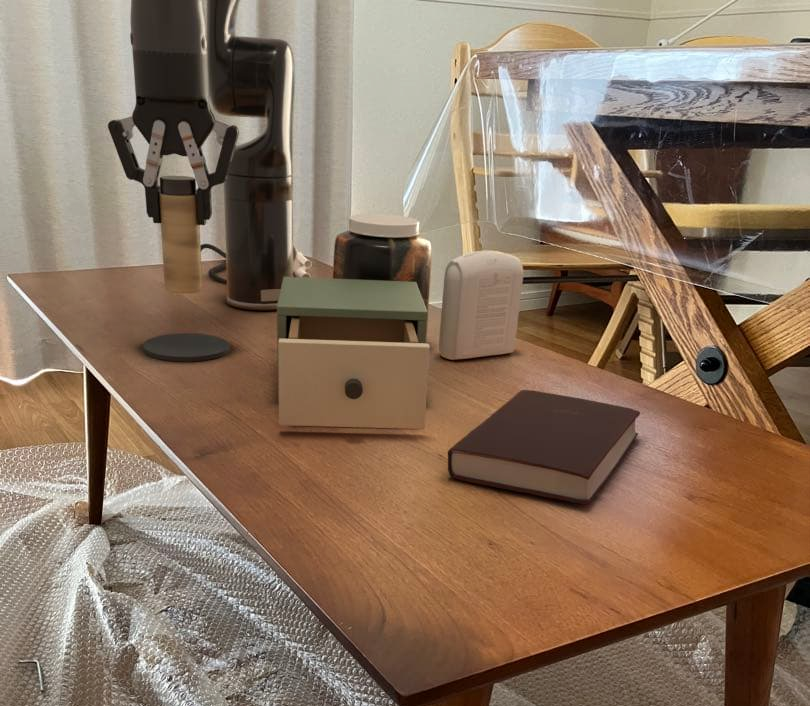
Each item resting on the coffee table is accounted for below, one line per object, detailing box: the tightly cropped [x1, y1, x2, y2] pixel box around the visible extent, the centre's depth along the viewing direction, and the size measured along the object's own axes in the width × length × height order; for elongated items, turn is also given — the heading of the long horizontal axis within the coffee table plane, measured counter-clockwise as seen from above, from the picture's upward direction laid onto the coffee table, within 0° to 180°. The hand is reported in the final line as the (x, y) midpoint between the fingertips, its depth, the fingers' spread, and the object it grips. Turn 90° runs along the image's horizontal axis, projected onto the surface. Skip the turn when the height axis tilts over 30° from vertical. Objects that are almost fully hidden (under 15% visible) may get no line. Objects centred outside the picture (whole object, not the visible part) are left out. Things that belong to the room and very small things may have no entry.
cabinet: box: [276, 276, 429, 403], centre depth 98 cm, size 14×15×10 cm
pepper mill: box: [159, 175, 203, 294], centre depth 102 cm, size 4×4×12 cm
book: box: [447, 389, 641, 505], centre depth 83 cm, size 12×19×3 cm, turn 155°
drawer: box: [278, 316, 431, 430], centre depth 89 cm, size 14×14×8 cm
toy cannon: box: [293, 244, 313, 278], centre depth 147 cm, size 8×14×5 cm
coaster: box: [142, 332, 231, 363], centre depth 108 cm, size 10×10×1 cm
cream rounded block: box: [438, 249, 524, 361], centre depth 110 cm, size 10×4×12 cm, turn 123°
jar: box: [332, 213, 432, 340], centre depth 111 cm, size 12×12×15 cm
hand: (179, 222), depth 101 cm, fingers closed on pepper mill, 4 cm apart
